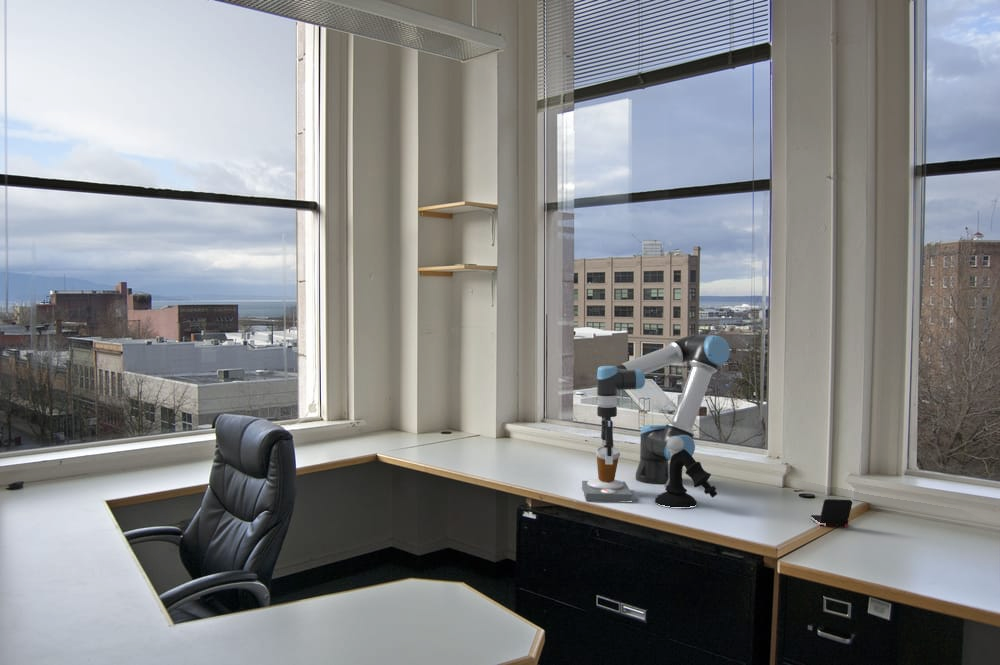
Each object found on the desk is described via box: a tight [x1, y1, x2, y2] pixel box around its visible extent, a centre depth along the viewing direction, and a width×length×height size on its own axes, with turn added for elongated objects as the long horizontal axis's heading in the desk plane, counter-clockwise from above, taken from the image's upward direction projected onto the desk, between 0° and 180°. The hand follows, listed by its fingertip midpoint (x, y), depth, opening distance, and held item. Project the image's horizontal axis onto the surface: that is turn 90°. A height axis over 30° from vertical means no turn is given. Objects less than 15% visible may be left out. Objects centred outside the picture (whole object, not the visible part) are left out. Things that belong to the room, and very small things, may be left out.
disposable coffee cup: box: [595, 446, 621, 482], centre depth 294 cm, size 10×10×12 cm
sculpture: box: [654, 436, 719, 507], centre depth 275 cm, size 15×24×25 cm, turn 48°
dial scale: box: [581, 478, 633, 502], centre depth 289 cm, size 17×20×4 cm
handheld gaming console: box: [810, 498, 853, 528], centre depth 254 cm, size 9×12×10 cm
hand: (607, 460), depth 292 cm, fingers open, 13 cm apart
